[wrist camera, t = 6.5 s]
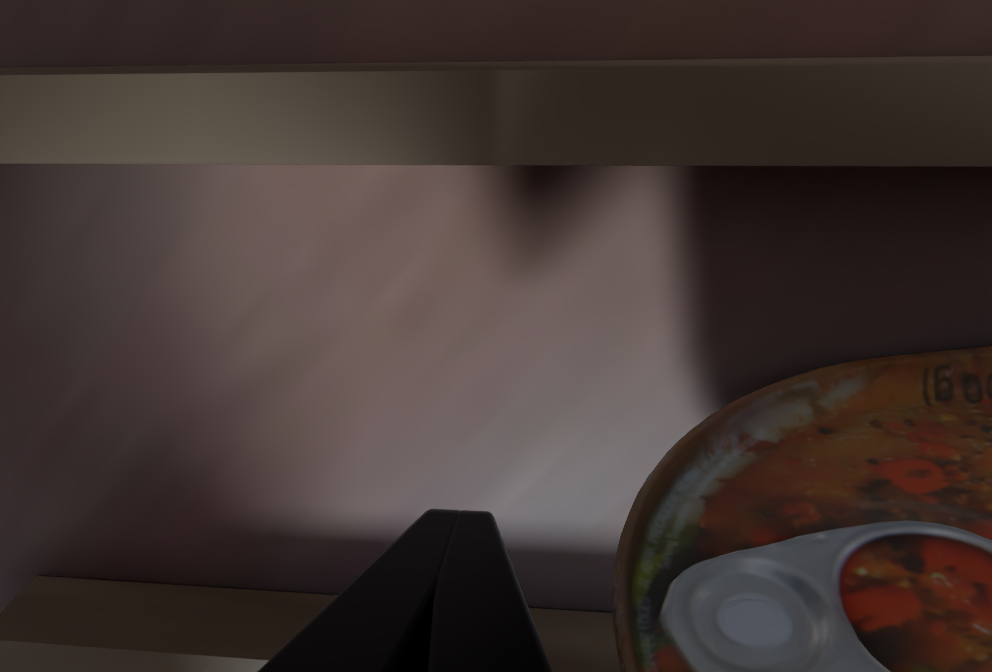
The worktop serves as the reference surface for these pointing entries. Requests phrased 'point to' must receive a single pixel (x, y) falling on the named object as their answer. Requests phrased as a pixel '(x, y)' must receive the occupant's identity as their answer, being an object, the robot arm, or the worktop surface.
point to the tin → (820, 528)
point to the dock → (440, 141)
